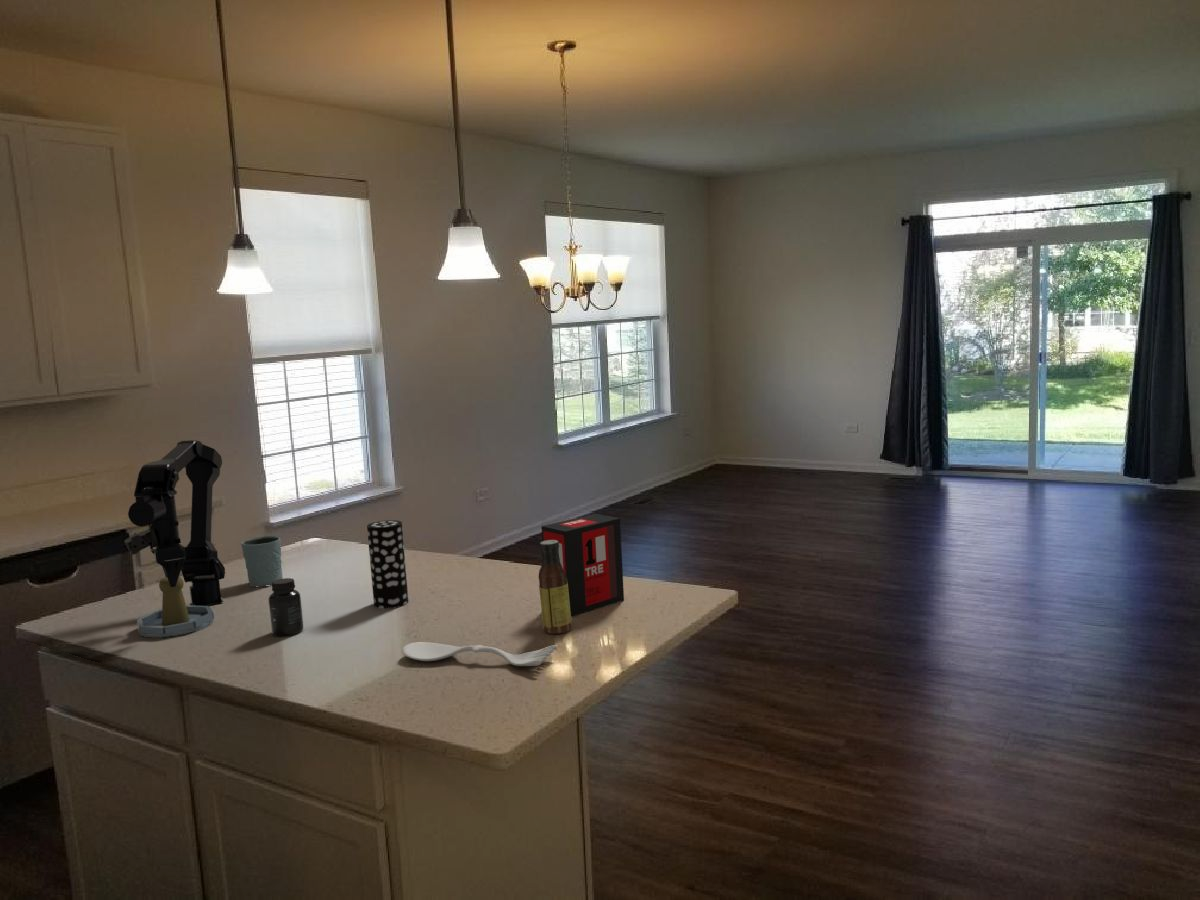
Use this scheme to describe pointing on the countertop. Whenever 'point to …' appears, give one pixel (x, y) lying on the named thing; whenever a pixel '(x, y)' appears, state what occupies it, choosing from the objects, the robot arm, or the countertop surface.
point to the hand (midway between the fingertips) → (170, 582)
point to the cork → (173, 603)
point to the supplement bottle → (285, 608)
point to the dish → (154, 628)
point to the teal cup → (262, 560)
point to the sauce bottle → (553, 590)
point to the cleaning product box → (590, 560)
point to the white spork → (441, 651)
